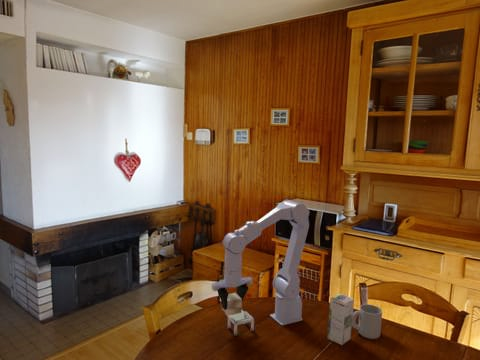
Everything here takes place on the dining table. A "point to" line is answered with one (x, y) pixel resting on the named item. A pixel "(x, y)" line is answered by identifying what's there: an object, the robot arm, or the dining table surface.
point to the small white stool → (241, 322)
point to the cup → (368, 321)
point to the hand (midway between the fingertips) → (231, 306)
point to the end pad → (238, 316)
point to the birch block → (233, 304)
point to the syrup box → (340, 319)
